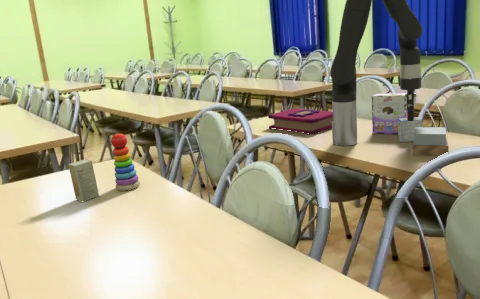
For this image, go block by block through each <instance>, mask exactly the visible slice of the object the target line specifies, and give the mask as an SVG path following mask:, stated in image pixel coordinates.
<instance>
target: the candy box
mask: <svg viewBox="0 0 480 299" xmlns="http://www.w3.org/2000/svg"><path fill="white" fill-rule="evenodd" d="M406 93H407V92H406ZM406 93H404V92H401V93H400V92H399V93H397V92H395V93H394V92H393V93H386V92H385V93H374V94H373V95H371V114H372V116H371V117H372V119H371V120H372V124H371V125H372V134H380V133H381V134H383V135H384V134H385V135H398V119H400V118H407V110H406V108H407V106H406V99H405V94H406Z"/></svg>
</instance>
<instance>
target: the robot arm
mask: <svg viewBox="0 0 480 299" xmlns="http://www.w3.org/2000/svg"><path fill="white" fill-rule="evenodd" d="M381 1H382V3H383V5H384V7H385V9H386V11H387V12H388V15H389V16H390V18H391V19H392V20H393V21H394V22H395V23H396V25H397V27H398V30H397V41H398V47H399V51H400V54H399V55H400V56H399V60H400V61H399V63H400V66H399V67H400V68H399V89H400V90H401V91H406V94H405V99H406V106H407V108H406V110H407V120H408V121H413V120H414V116H415V106H416V102H417V92H415V91H416V90H420V89H421V88H422V66H421V51H420V50H421V49H420V48H419V46H418V40H419V39H420V38H421V37H422V34H423V26H422V24H421V22H420V21H419V19H418V17H417V16H416V15H415V13H414V12H413V11H412V10H411V8H410V6H409V3H408V2H407V0H381ZM372 3H373V0H346V1H345V4H344V8H343V13H342V17H341V21H340V22H341V24H340V27H339V28H340V29H339V30H340V31H339V36H338V38H339V39H338V45H337V49H336V53H335V55H334V59H333V62H332V65H331V67H330V72H329V73H330V77H331V81H332V82H331V83H332V89H331V90H332V91H331V92H332V93H331V102H332V106H331V107H332V108H331V109H332V112H333V121H332V128H331V134H332V136H331V137H332V145H335V146H339V147H340V146H343V147H348V146H353V145H356V144H358V119H357V116H358V113H357V67H356V63H357V55H358V50H359V47H360V44H361V42H362V39H363V36H364V33H365V31H366V27H367V24H368V21H369V18H370V17H369V16H370V12H371V8H372V7H371V6H372Z"/></svg>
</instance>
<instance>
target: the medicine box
mask: <svg viewBox="0 0 480 299" xmlns="http://www.w3.org/2000/svg"><path fill="white" fill-rule="evenodd" d="M415 127H423V119H422V118H420V117H418V116H417V117H416V116H415V117H414V120H413V121H408V120H407V118H400V119H398V134H397V135H398V139H397V140H398V141H399V142H400V143H407V142H414V132H415Z"/></svg>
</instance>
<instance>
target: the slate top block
mask: <svg viewBox="0 0 480 299" xmlns="http://www.w3.org/2000/svg"><path fill="white" fill-rule="evenodd" d="M446 138H447V130H446V127H441V126H440V127H438V126H437V127H435V126H432V127H431V126H430V127H429V126H427V127H426V126H425V127H423V126H422V127H415V132H414V141H413V146H414V145H436V146H446Z"/></svg>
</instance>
